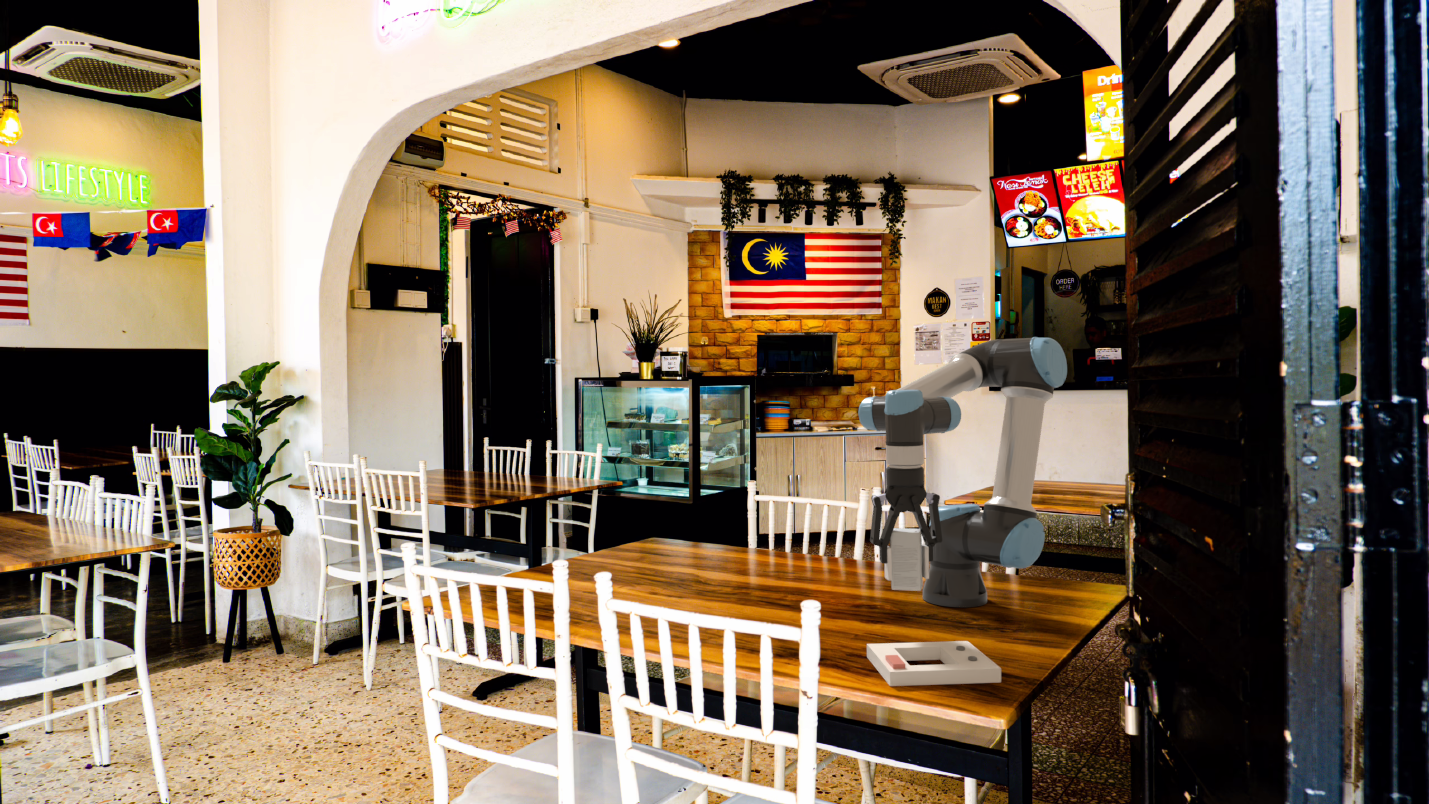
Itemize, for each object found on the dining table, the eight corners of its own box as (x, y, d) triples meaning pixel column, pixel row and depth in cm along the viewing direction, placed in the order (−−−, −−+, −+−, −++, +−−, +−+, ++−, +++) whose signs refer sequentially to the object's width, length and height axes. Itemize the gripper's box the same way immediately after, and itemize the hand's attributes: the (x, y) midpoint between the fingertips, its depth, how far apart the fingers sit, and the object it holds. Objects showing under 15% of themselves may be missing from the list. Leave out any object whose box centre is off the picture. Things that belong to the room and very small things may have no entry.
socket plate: (967, 653, 166) (967, 636, 166) (1001, 682, 151) (1001, 663, 150) (866, 656, 165) (866, 639, 165) (890, 686, 149) (889, 667, 149)
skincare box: (923, 586, 175) (922, 528, 174) (921, 591, 171) (920, 532, 170) (893, 584, 177) (892, 527, 176) (890, 589, 173) (889, 531, 172)
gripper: (946, 462, 177) (948, 571, 178) (852, 465, 176) (854, 575, 177) (959, 466, 170) (961, 580, 171) (861, 469, 168) (863, 584, 169)
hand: (906, 577), depth 174 cm, fingers closed on skincare box, 7 cm apart
